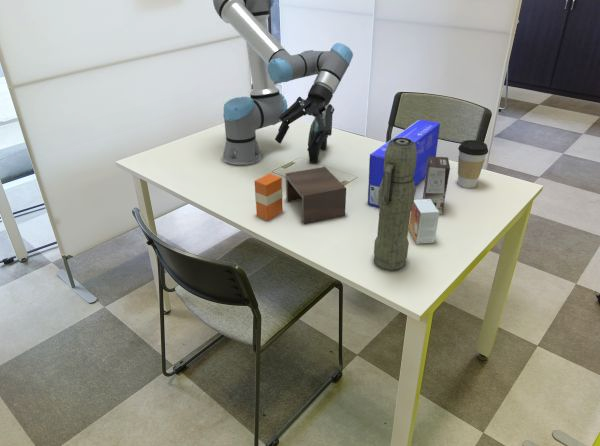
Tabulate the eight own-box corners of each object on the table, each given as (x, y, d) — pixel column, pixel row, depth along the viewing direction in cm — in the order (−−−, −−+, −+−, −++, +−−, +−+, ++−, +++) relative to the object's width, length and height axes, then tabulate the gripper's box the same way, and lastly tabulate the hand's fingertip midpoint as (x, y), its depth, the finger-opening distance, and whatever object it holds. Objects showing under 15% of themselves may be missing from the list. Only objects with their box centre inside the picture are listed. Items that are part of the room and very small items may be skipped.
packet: (256, 216, 154) (254, 180, 148) (271, 207, 159) (269, 173, 152) (268, 221, 151) (266, 185, 145) (283, 212, 156) (281, 177, 150)
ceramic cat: (317, 145, 205) (317, 98, 195) (332, 146, 204) (333, 99, 193) (305, 163, 189) (304, 113, 178) (321, 165, 187) (321, 115, 177)
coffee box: (442, 215, 154) (450, 168, 145) (422, 213, 155) (428, 167, 146) (441, 201, 161) (448, 156, 153) (421, 199, 162) (428, 155, 154)
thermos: (413, 256, 134) (429, 137, 116) (395, 278, 126) (409, 153, 108) (384, 246, 138) (396, 130, 120) (365, 266, 130) (374, 145, 112)
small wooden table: (286, 200, 163) (285, 173, 158) (324, 193, 167) (324, 166, 162) (303, 224, 149) (303, 195, 144) (345, 216, 154) (346, 188, 148)
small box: (408, 229, 146) (412, 199, 141) (426, 228, 146) (430, 198, 141) (415, 244, 139) (420, 212, 134) (434, 243, 140) (439, 211, 134)
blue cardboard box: (414, 164, 187) (419, 118, 177) (434, 169, 183) (441, 122, 173) (365, 204, 160) (369, 152, 150) (388, 211, 156) (393, 158, 146)
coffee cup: (486, 183, 172) (494, 144, 164) (473, 193, 166) (481, 152, 158) (460, 175, 178) (467, 137, 170) (447, 184, 172) (453, 145, 164)
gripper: (359, 103, 152) (329, 162, 150) (299, 89, 165) (270, 142, 164) (350, 89, 145) (319, 151, 143) (288, 76, 159) (259, 132, 157)
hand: (293, 146), depth 153 cm, fingers open, 13 cm apart
